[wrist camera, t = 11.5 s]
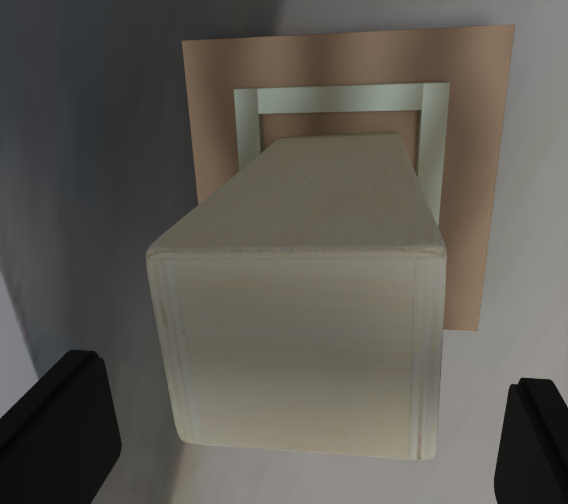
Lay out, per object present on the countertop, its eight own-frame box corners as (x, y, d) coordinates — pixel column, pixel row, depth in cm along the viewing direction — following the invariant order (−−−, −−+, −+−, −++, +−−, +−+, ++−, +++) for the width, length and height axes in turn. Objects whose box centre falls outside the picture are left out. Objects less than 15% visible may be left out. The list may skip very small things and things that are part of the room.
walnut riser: (493, 30, 32) (521, 22, 26) (464, 299, 39) (481, 339, 33) (205, 44, 35) (175, 39, 30) (226, 291, 42) (205, 326, 37)
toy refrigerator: (282, 241, 34) (178, 464, 15) (275, 136, 32) (138, 243, 12) (396, 240, 33) (442, 483, 14) (398, 131, 31) (459, 241, 11)
